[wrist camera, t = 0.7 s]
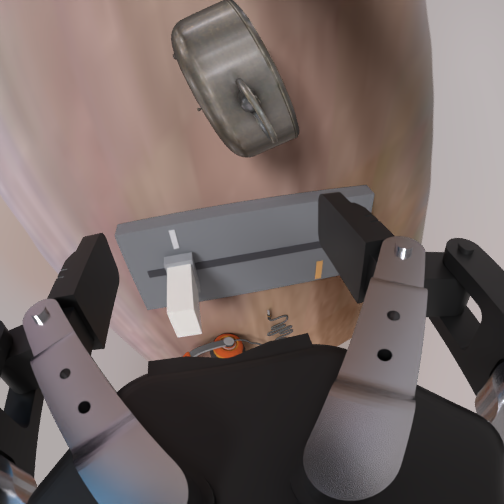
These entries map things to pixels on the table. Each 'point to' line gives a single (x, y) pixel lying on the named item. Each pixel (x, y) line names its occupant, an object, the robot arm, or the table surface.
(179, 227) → the console
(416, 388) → the robot arm
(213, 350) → the headphones
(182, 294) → the fader
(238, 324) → the table surface
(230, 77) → the alarm clock
